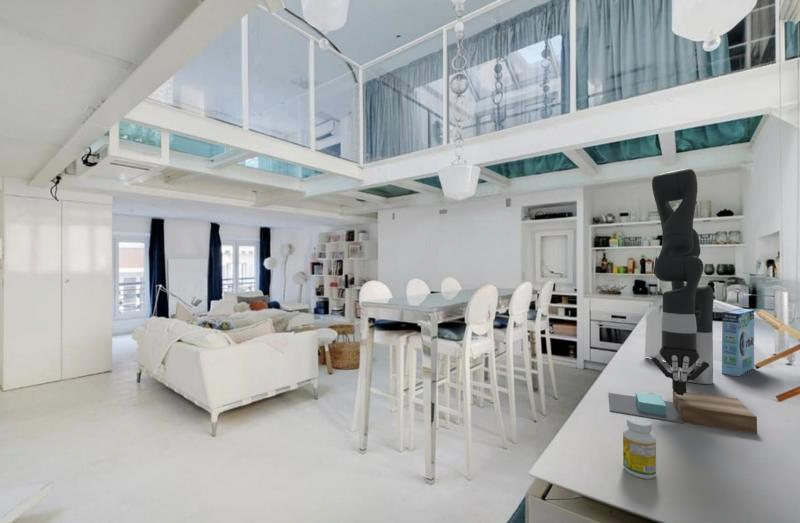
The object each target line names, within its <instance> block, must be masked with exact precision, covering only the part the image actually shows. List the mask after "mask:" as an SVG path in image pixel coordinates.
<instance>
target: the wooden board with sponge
mask: <svg viewBox="0 0 800 523" xmlns="http://www.w3.org/2000/svg"><path fill="white" fill-rule="evenodd" d="M672 402H673V404H674V406H675V408H676V409H677V411H678V413H679V415H680V416H681V418H682V420H683V422H684V423H686V424H693V425H700V426H704V427H710V428H717V429H723V430H729V431H737V432H742V433H746V434H747V433H749V434H753V435H757V434H758V417H757V415H755V414H754V413H753V412H752V411H751V410H750V409H749V408H748V407H747V406H745V405H744V403H742V402H741V401H740V400H739V398H736V397H728V396H724V395H723V396H722V395H715V394H706V393H700V392H691V391H686V393H683V395H677V394H676V393H675V392H674V391H673V390H672Z"/></svg>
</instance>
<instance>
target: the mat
mask: <svg viewBox="0 0 800 523" xmlns="http://www.w3.org/2000/svg"><path fill="white" fill-rule="evenodd" d="M663 401H664V403H665V404H666V415H660V414H654V413H647V412H641V411H639V409H638V406H637V403H636V395H635V396H634V395H627V394H626V395H625V394H621V393H614V392H612V393H611V392H608V402H609V411H610V413H616V414H617V413H618V414H623V415H630V416H634V417H639V418H647V419H654V420H661V421H666V422H672V423H678V424H684V423H685V422H683V420H682V418H681V416H680V415H679V413H678V411H677V409H676V408H675V406H674V404H673V401H669V400H663Z"/></svg>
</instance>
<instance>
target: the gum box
mask: <svg viewBox="0 0 800 523" xmlns="http://www.w3.org/2000/svg"><path fill="white" fill-rule="evenodd" d="M721 313H722V314H721V323H722V324H721V327H722V328H721V329H722V330H721V374H723V375H727V376H731V375H733V376H732V377H736V376H739V377H740V376H742V375H744V374H746V373H748V372H750V371H752V370H754V369H755V310H754V309H747V308H746V309H745V308H736V309H733V310H727V311H722V312H721ZM753 368H754V369H753ZM751 369H752V370H751ZM749 370H750V371H749ZM747 371H748V372H747ZM745 372H746V373H745Z"/></svg>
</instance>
